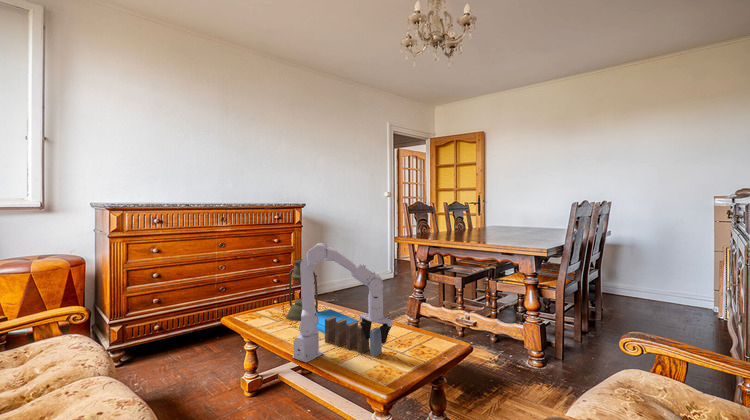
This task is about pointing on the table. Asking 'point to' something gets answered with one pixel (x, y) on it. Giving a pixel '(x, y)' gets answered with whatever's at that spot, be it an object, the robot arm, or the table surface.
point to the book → (327, 314)
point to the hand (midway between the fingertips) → (375, 340)
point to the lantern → (297, 307)
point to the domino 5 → (375, 342)
